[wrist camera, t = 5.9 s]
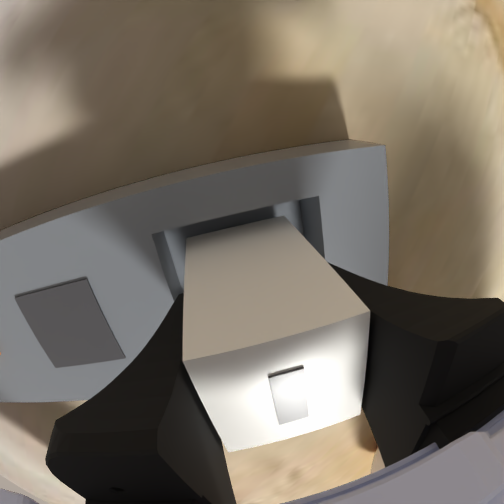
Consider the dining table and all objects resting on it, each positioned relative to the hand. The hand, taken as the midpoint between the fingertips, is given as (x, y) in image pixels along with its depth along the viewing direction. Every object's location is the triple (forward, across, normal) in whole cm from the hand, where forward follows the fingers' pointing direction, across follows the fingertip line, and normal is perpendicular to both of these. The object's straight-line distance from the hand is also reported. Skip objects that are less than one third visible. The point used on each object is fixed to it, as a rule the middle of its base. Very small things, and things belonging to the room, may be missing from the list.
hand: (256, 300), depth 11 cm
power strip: (+4, +8, 0) cm, 9 cm away
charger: (+2, 0, 0) cm, 2 cm away
